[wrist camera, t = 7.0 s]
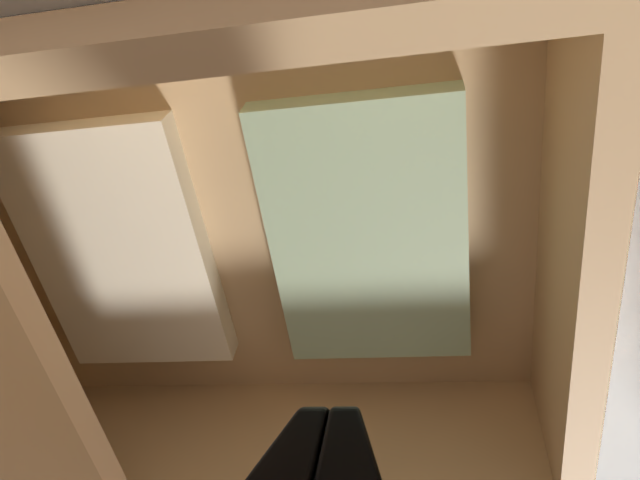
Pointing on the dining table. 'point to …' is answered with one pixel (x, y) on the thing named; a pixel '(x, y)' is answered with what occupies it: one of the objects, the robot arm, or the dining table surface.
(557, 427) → the mailer box
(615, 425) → the dining table surface
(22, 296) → the lid
